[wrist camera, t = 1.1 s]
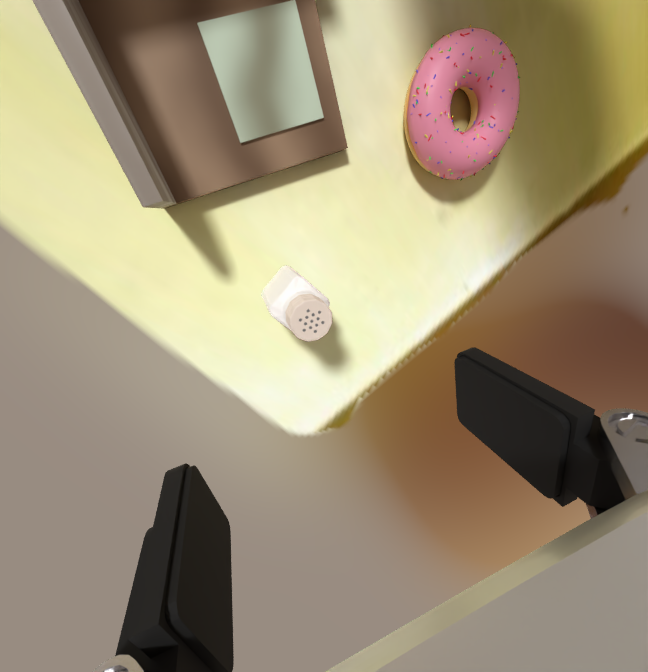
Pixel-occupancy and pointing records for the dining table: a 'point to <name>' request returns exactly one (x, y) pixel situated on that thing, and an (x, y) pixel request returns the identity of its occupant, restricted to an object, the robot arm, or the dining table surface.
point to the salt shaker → (297, 305)
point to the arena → (201, 88)
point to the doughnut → (484, 95)
